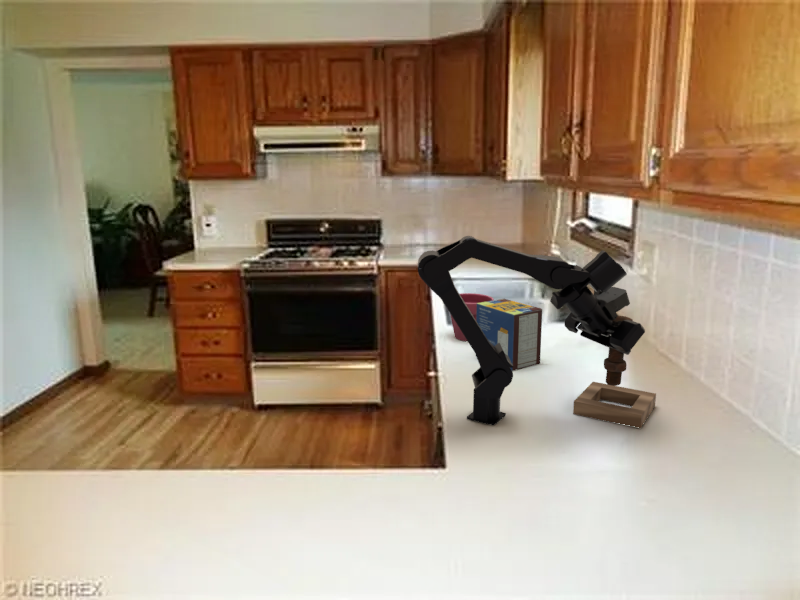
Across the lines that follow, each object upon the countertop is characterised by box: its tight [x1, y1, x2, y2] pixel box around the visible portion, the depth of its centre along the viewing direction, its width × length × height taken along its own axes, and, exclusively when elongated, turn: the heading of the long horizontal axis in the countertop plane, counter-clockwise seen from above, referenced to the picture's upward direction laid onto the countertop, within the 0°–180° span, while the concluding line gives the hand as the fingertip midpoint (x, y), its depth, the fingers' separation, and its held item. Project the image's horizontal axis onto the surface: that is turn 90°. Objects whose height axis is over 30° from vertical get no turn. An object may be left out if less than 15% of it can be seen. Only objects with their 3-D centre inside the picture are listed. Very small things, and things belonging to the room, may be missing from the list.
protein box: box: [476, 298, 543, 372], centre depth 166 cm, size 10×15×16 cm
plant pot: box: [449, 292, 495, 342], centre depth 187 cm, size 14×14×13 cm
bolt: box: [603, 315, 634, 386], centre depth 131 cm, size 6×5×15 cm
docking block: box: [572, 381, 657, 429], centre depth 133 cm, size 14×14×3 cm
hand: (621, 350), depth 132 cm, fingers closed on bolt, 4 cm apart
